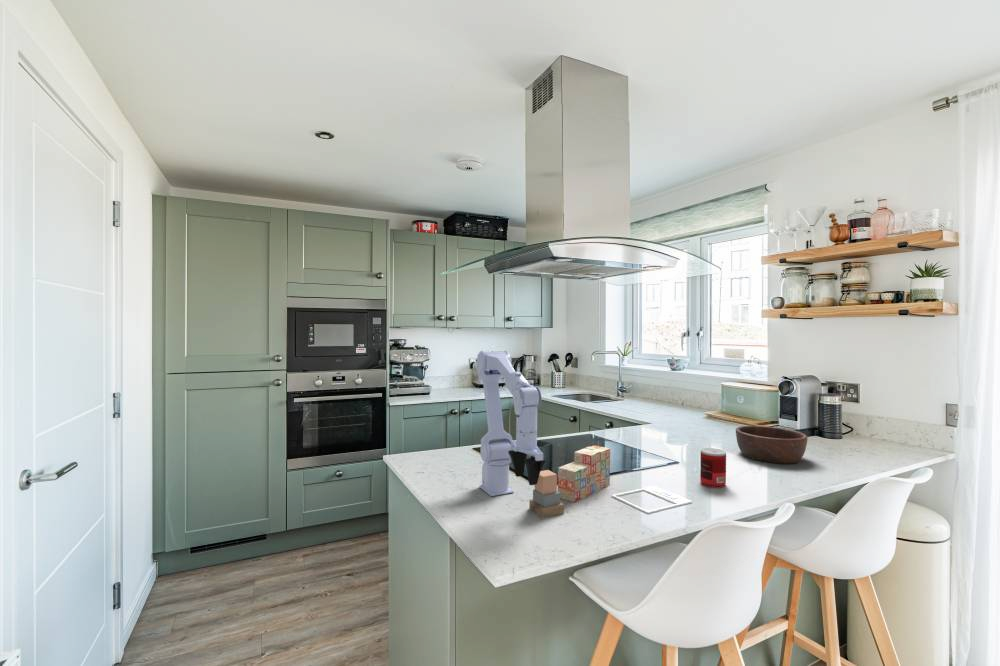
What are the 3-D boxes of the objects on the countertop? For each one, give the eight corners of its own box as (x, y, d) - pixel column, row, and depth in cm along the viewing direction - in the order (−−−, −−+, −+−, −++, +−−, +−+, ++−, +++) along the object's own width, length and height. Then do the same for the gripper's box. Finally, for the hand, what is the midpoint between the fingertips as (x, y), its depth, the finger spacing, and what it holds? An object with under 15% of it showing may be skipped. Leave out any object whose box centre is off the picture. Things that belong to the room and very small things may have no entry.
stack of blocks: (574, 503, 135) (575, 461, 135) (557, 497, 139) (557, 457, 139) (610, 485, 151) (610, 447, 151) (593, 480, 155) (593, 444, 155)
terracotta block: (534, 489, 130) (534, 472, 130) (548, 487, 132) (548, 469, 132) (542, 494, 126) (542, 476, 126) (556, 492, 128) (556, 474, 128)
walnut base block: (529, 510, 131) (529, 499, 131) (550, 506, 134) (550, 495, 134) (542, 519, 124) (542, 508, 124) (563, 515, 127) (563, 504, 127)
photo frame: (692, 500, 136) (647, 511, 127) (692, 504, 136) (647, 515, 127) (654, 485, 149) (611, 494, 140) (654, 488, 149) (611, 498, 140)
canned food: (727, 482, 154) (727, 450, 154) (723, 489, 147) (724, 455, 147) (702, 478, 158) (703, 446, 158) (698, 485, 151) (698, 451, 151)
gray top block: (532, 500, 130) (533, 489, 130) (548, 497, 133) (548, 486, 133) (544, 507, 125) (544, 496, 125) (560, 503, 128) (560, 492, 128)
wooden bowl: (730, 446, 201) (730, 423, 201) (796, 452, 194) (796, 427, 193) (741, 462, 178) (741, 436, 178) (816, 469, 170) (817, 441, 170)
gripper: (501, 426, 131) (501, 474, 131) (526, 437, 118) (526, 490, 118) (523, 424, 134) (523, 471, 134) (550, 435, 121) (549, 486, 121)
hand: (526, 480), depth 126 cm, fingers open, 7 cm apart
